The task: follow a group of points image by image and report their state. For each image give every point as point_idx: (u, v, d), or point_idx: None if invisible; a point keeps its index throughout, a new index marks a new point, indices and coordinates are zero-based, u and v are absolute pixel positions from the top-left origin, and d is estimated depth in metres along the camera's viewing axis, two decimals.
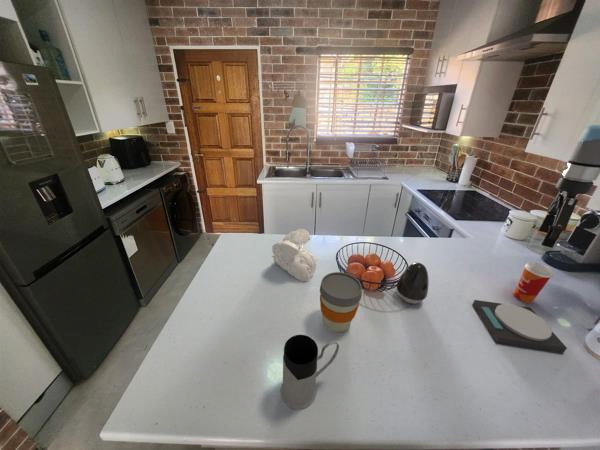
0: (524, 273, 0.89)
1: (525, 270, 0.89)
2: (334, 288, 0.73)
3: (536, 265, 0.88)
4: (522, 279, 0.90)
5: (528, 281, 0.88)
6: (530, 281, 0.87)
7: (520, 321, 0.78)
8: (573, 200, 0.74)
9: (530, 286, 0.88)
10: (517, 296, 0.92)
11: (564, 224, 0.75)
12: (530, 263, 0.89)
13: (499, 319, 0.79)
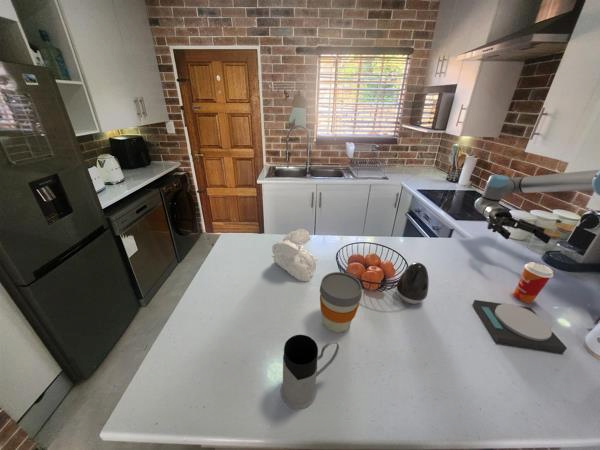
0: (524, 273, 0.89)
1: (525, 270, 0.89)
2: (334, 288, 0.73)
3: (536, 265, 0.88)
4: (522, 279, 0.90)
5: (528, 281, 0.88)
6: (530, 281, 0.87)
7: (520, 321, 0.78)
8: (487, 218, 1.08)
9: (530, 286, 0.88)
10: (517, 296, 0.92)
11: (489, 223, 1.02)
12: (530, 263, 0.89)
13: (499, 319, 0.79)
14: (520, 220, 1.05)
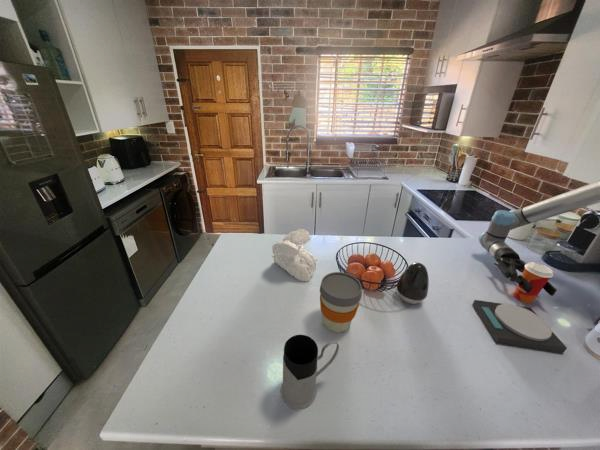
0: (524, 273, 0.89)
1: (525, 270, 0.89)
2: (334, 288, 0.73)
3: (536, 265, 0.88)
4: None
5: (528, 281, 0.88)
6: (530, 281, 0.87)
7: (520, 321, 0.78)
8: (495, 261, 1.00)
9: None
10: (517, 296, 0.92)
11: (505, 271, 0.94)
12: (530, 263, 0.89)
13: (499, 319, 0.79)
14: None
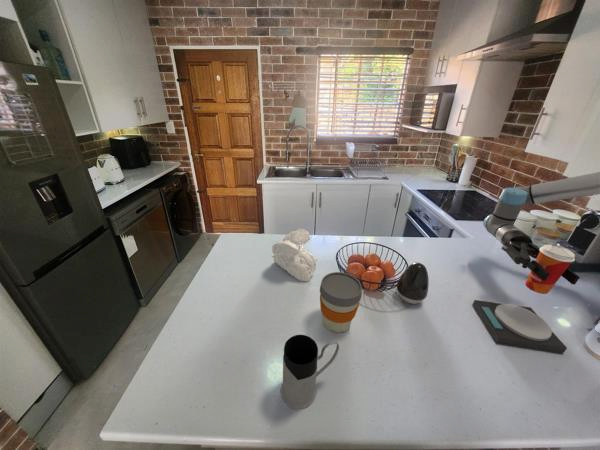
0: (539, 257, 0.74)
1: (540, 254, 0.74)
2: (334, 288, 0.73)
3: (554, 248, 0.73)
4: None
5: (544, 267, 0.73)
6: (547, 266, 0.72)
7: (520, 321, 0.78)
8: (503, 245, 0.85)
9: None
10: (530, 286, 0.77)
11: (516, 256, 0.79)
12: (546, 245, 0.74)
13: (499, 319, 0.79)
14: None
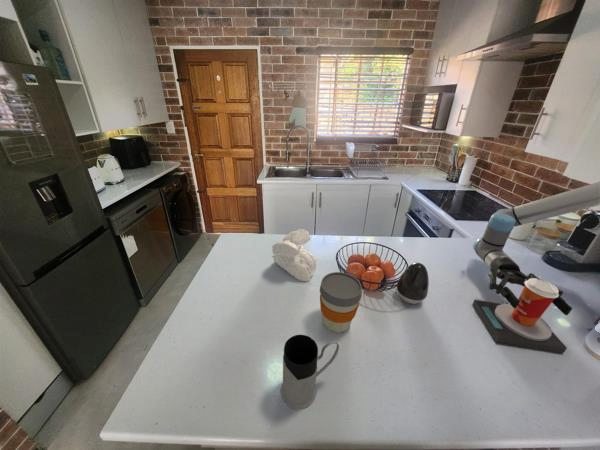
0: (524, 291, 0.75)
1: (525, 288, 0.75)
2: (334, 288, 0.73)
3: (538, 282, 0.74)
4: (522, 298, 0.76)
5: (529, 301, 0.74)
6: (532, 301, 0.73)
7: None
8: (489, 271, 0.87)
9: (531, 307, 0.73)
10: (516, 318, 0.78)
11: (491, 281, 0.81)
12: (531, 279, 0.75)
13: (499, 319, 0.79)
14: (530, 276, 0.84)
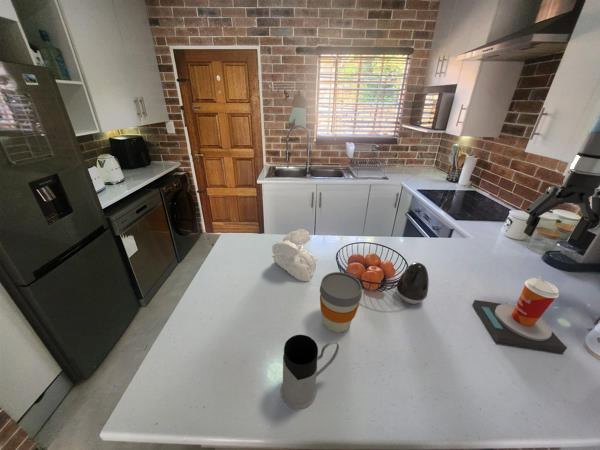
0: (524, 291, 0.75)
1: (525, 288, 0.75)
2: (334, 288, 0.73)
3: (538, 282, 0.74)
4: (522, 298, 0.76)
5: (529, 301, 0.74)
6: (532, 301, 0.73)
7: None
8: (552, 188, 0.74)
9: (531, 307, 0.73)
10: (516, 318, 0.78)
11: (532, 208, 0.77)
12: (531, 279, 0.75)
13: (499, 319, 0.79)
14: (598, 196, 0.72)
